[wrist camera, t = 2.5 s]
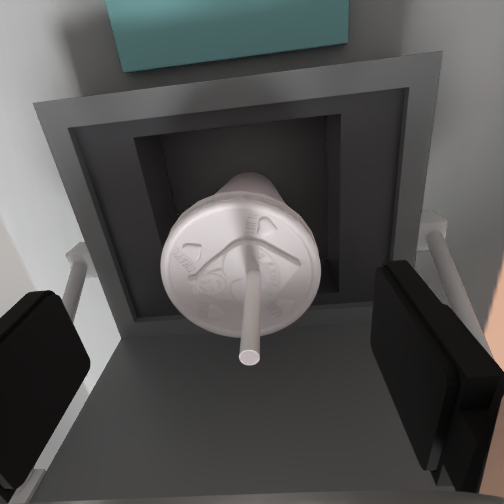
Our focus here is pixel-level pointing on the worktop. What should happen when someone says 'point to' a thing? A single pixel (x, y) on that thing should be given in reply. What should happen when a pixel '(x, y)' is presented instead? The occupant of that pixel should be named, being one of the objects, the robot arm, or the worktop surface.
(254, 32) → the mat
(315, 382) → the case
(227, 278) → the smoothie
